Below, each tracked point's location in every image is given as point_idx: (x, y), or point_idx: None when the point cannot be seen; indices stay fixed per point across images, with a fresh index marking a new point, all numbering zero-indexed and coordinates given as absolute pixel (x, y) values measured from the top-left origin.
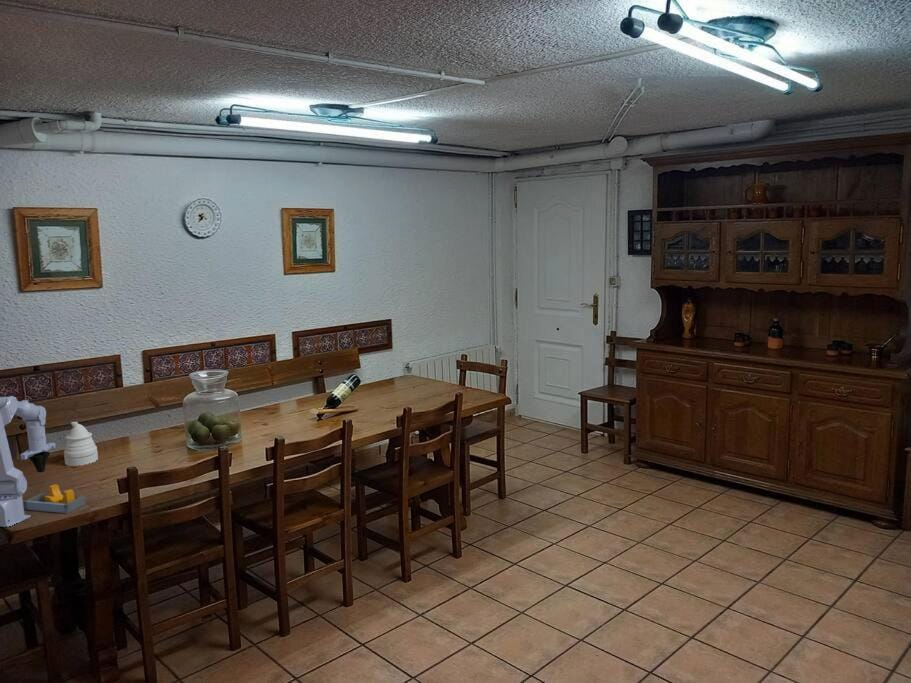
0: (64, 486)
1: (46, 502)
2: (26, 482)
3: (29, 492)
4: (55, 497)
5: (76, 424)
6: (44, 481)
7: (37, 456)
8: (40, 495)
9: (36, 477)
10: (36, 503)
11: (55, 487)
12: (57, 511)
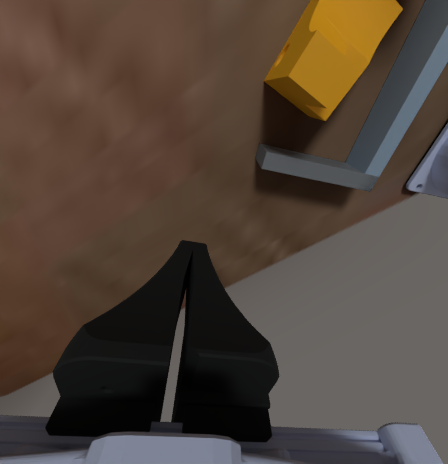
0: (85, 162)
1: (445, 37)
2: None
3: None
4: (350, 35)
5: None
6: (67, 268)
7: (257, 386)
8: (296, 158)
9: (47, 306)
10: (414, 110)
11: (331, 49)
12: None
